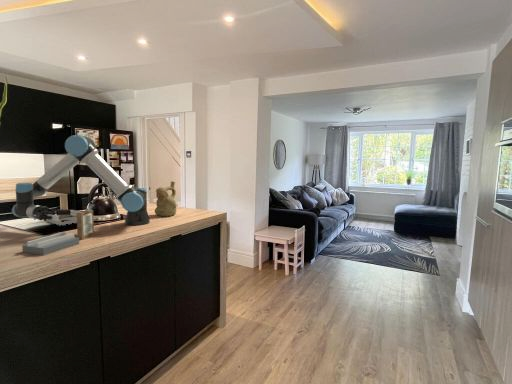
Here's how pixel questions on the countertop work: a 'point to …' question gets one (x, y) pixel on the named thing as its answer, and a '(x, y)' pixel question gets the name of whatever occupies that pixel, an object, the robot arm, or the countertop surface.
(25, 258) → the countertop surface
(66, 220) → the play button award
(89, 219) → the walnut photo frame
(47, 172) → the robot arm
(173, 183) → the ceramic vessel
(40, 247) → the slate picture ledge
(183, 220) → the countertop surface
